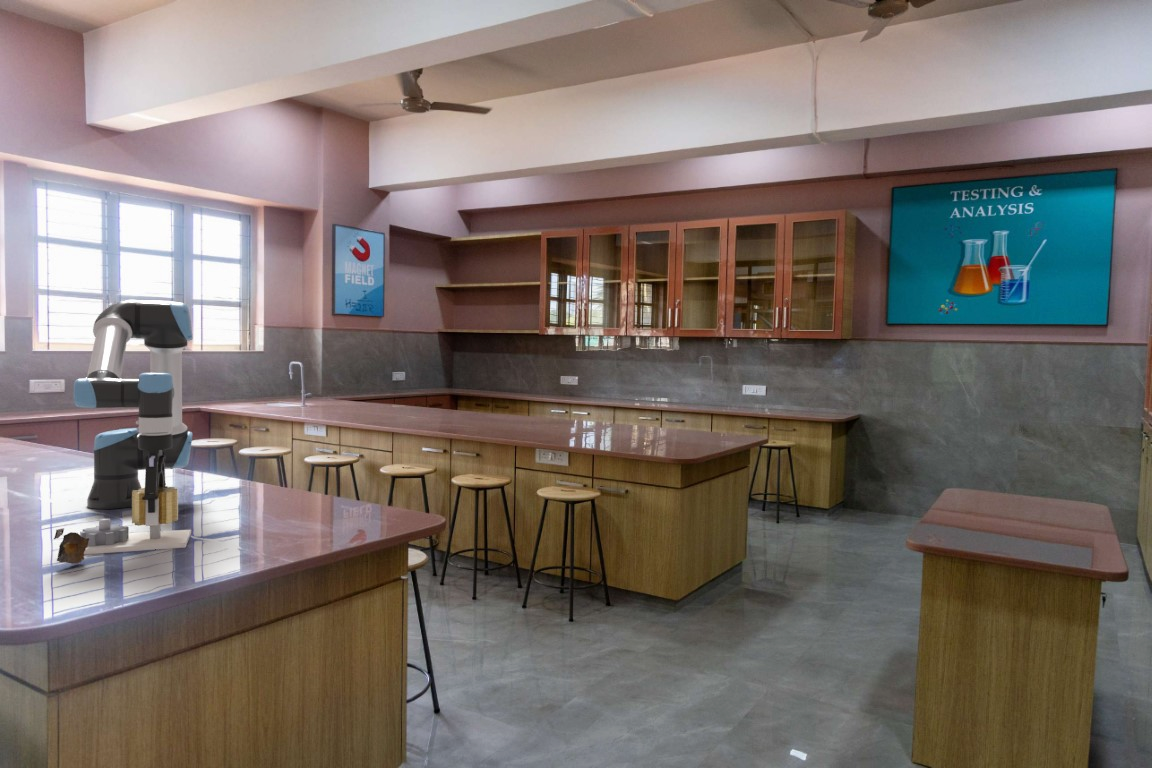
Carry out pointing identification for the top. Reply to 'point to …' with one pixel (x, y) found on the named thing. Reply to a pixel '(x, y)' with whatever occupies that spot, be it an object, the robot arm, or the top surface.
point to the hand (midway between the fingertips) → (155, 520)
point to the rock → (71, 547)
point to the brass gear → (166, 506)
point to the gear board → (131, 538)
